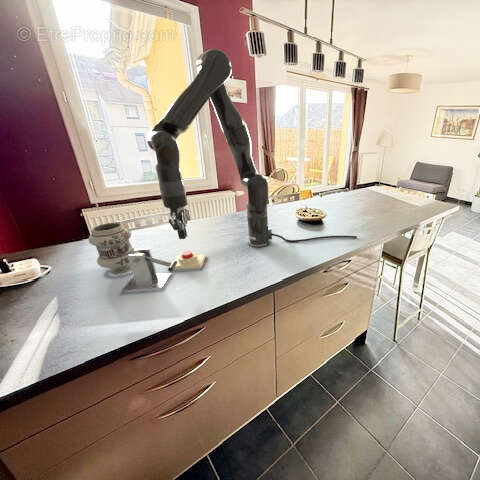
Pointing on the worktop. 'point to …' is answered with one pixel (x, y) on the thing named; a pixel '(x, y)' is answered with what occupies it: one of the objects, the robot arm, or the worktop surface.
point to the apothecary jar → (112, 246)
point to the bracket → (144, 272)
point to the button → (187, 254)
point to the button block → (190, 261)
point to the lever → (159, 261)
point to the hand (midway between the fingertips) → (183, 237)
